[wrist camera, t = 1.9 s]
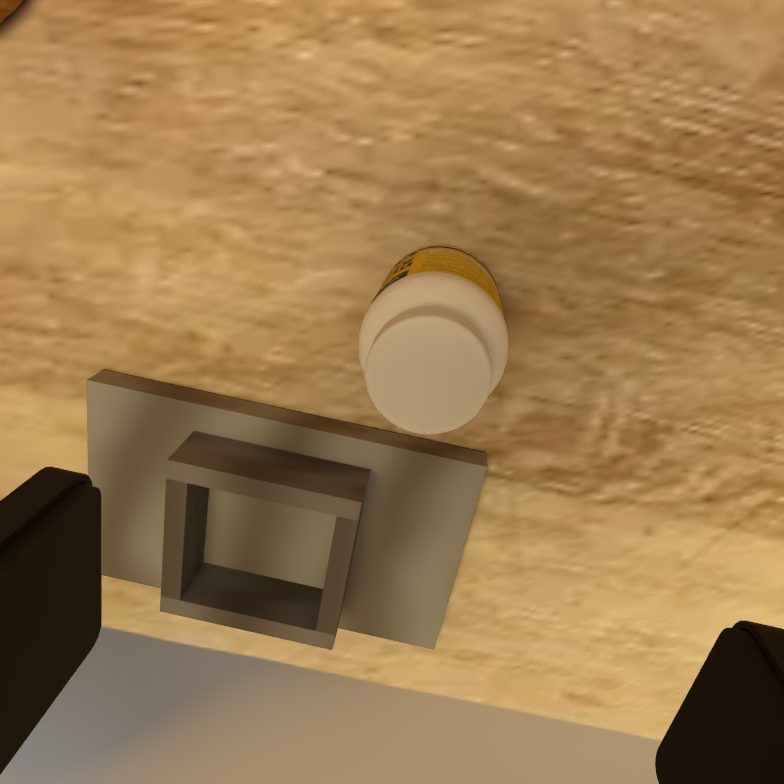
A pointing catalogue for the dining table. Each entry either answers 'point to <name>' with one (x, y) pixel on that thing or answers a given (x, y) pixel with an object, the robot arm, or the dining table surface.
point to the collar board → (277, 513)
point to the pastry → (8, 7)
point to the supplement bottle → (434, 340)
